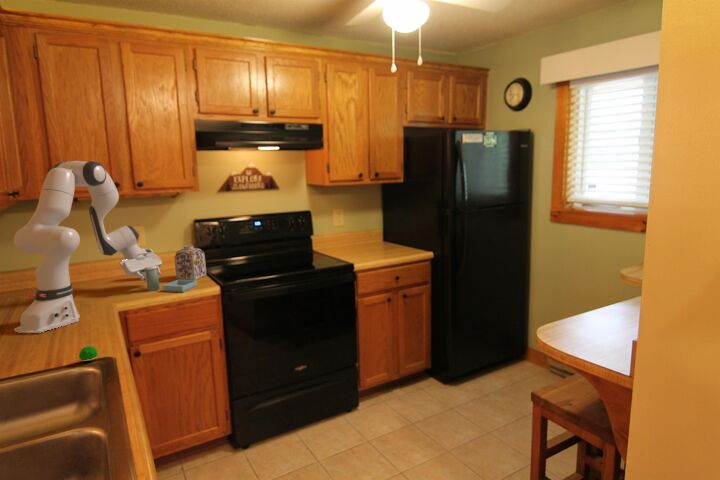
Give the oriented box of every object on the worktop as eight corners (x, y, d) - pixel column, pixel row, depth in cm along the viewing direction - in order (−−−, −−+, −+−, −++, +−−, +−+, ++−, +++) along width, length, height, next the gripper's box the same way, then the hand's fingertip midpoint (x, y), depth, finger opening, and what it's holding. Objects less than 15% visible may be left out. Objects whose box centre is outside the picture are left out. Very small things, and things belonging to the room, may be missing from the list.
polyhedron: (82, 359, 145) (80, 345, 144) (100, 357, 146) (98, 343, 146) (78, 365, 140) (76, 351, 139) (96, 363, 142) (94, 348, 141)
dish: (182, 292, 220) (182, 286, 219) (163, 291, 223) (162, 285, 222) (197, 286, 231) (197, 280, 230) (178, 285, 234) (178, 279, 233)
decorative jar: (176, 280, 245) (172, 247, 242) (188, 274, 256) (185, 243, 253) (195, 280, 242) (192, 248, 239) (207, 275, 253) (204, 244, 250)
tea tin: (154, 291, 223) (151, 268, 221) (144, 291, 225) (142, 268, 223) (162, 288, 229) (160, 266, 227) (153, 287, 230) (150, 265, 228)
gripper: (120, 256, 217) (137, 277, 215) (154, 248, 236) (170, 268, 233) (114, 265, 220) (131, 286, 218) (149, 256, 238) (164, 275, 236)
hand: (151, 276), depth 226 cm, fingers open, 8 cm apart
